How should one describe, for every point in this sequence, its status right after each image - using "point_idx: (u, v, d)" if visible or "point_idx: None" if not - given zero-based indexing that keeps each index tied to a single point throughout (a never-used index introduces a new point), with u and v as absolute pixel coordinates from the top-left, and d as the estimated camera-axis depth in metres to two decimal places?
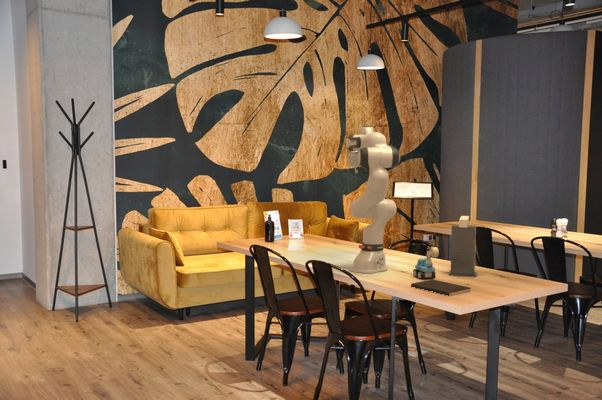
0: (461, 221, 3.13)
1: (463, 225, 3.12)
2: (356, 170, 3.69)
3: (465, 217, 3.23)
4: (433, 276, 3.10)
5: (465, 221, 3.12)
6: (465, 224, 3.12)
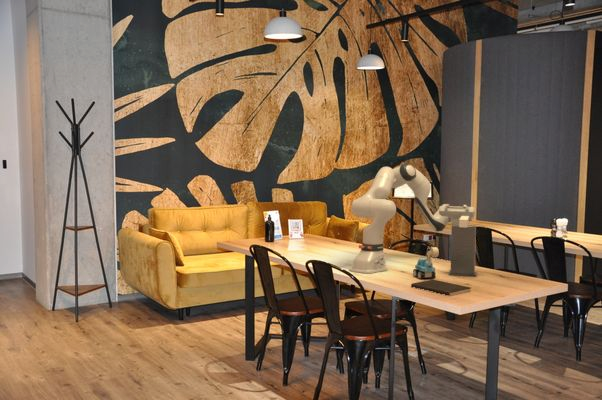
0: (461, 221, 3.13)
1: (463, 225, 3.12)
2: None
3: (465, 217, 3.23)
4: (433, 276, 3.10)
5: (465, 221, 3.12)
6: (465, 224, 3.12)
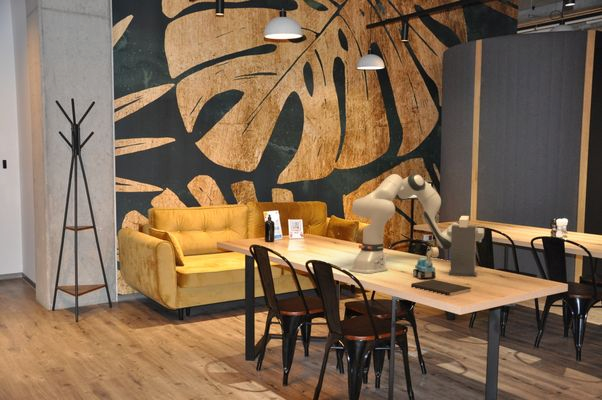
0: (461, 221, 3.13)
1: (463, 225, 3.12)
2: None
3: (465, 217, 3.23)
4: (433, 276, 3.10)
5: (465, 221, 3.12)
6: (465, 224, 3.12)
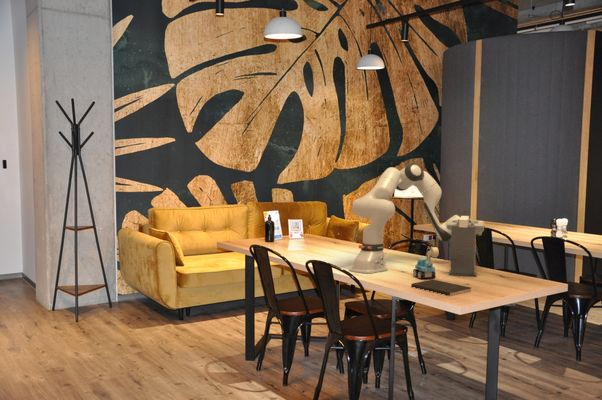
0: (461, 221, 3.13)
1: (463, 225, 3.12)
2: None
3: (465, 217, 3.23)
4: (433, 276, 3.10)
5: (465, 221, 3.12)
6: (465, 224, 3.12)
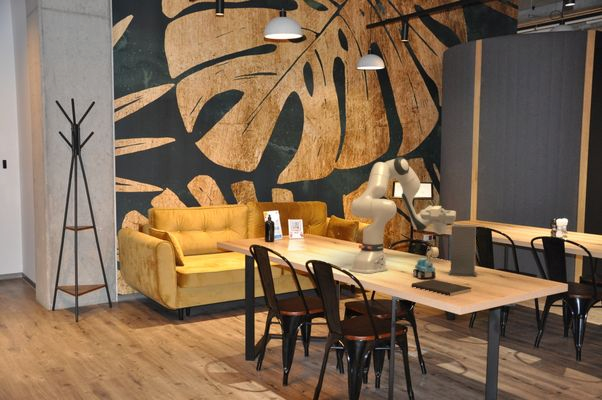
0: (432, 210, 3.29)
1: (434, 214, 3.29)
2: None
3: (437, 207, 3.40)
4: (433, 276, 3.10)
5: (436, 210, 3.29)
6: (436, 213, 3.29)
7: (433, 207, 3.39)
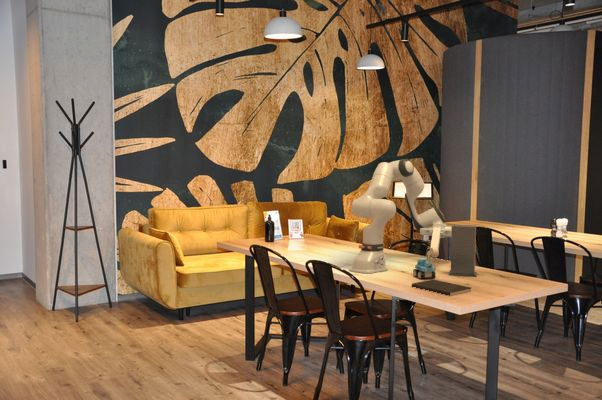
0: None
1: None
2: (431, 231, 3.48)
3: (436, 236, 3.41)
4: (433, 276, 3.10)
5: None
6: None
7: (432, 237, 3.40)
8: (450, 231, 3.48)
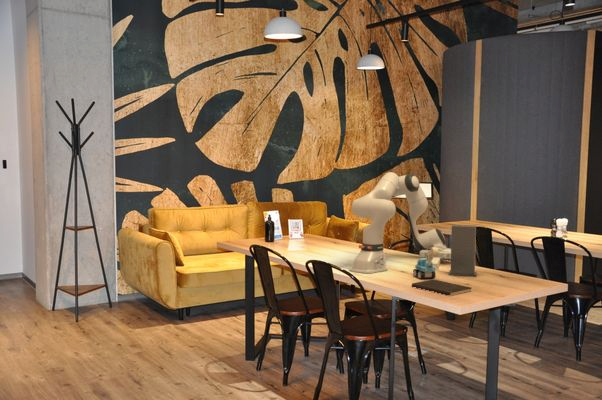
0: None
1: None
2: None
3: (436, 260, 3.43)
4: (433, 276, 3.10)
5: (435, 265, 3.32)
6: (435, 268, 3.32)
7: (432, 260, 3.42)
8: (450, 254, 3.49)
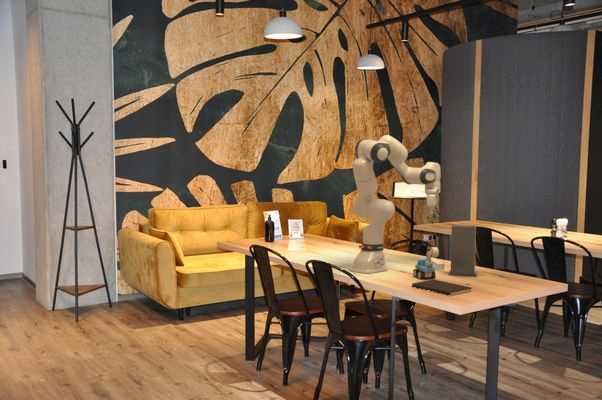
0: (439, 265, 3.32)
1: (441, 269, 3.32)
2: None
3: (435, 260, 3.44)
4: (433, 276, 3.10)
5: (442, 265, 3.32)
6: (442, 268, 3.33)
7: (432, 260, 3.42)
8: (429, 206, 3.45)
